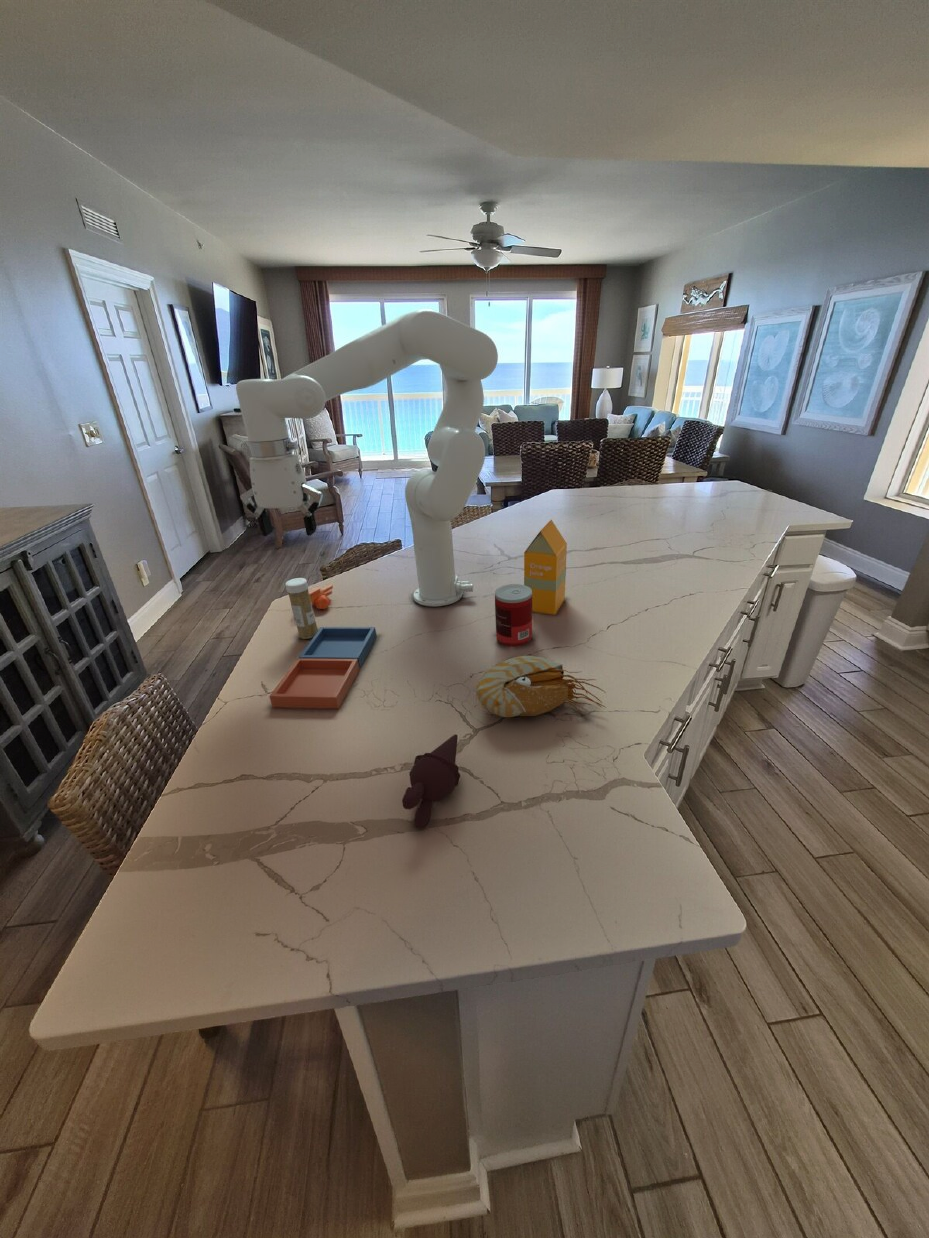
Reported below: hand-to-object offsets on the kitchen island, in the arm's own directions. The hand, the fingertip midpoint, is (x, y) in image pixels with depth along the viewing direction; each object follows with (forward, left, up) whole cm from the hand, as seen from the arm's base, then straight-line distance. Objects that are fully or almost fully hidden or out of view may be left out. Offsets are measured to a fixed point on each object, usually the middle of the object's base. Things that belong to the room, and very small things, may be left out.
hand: (289, 533), depth 104 cm
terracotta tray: (-10, +22, -24) cm, 34 cm away
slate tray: (-10, +9, -24) cm, 27 cm away
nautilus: (-52, +27, -24) cm, 63 cm away
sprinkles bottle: (0, +2, -24) cm, 24 cm away
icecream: (-37, +46, -24) cm, 64 cm away
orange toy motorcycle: (+3, -12, -24) cm, 27 cm away
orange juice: (-54, -13, -24) cm, 60 cm away
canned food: (-47, +3, -24) cm, 53 cm away
